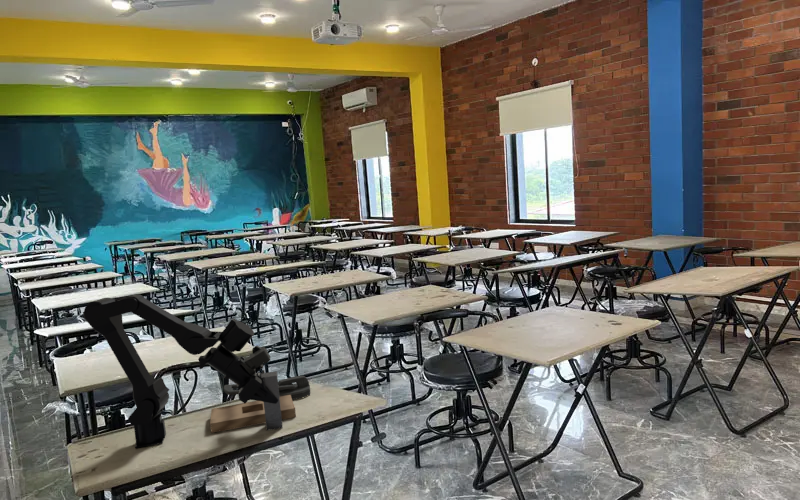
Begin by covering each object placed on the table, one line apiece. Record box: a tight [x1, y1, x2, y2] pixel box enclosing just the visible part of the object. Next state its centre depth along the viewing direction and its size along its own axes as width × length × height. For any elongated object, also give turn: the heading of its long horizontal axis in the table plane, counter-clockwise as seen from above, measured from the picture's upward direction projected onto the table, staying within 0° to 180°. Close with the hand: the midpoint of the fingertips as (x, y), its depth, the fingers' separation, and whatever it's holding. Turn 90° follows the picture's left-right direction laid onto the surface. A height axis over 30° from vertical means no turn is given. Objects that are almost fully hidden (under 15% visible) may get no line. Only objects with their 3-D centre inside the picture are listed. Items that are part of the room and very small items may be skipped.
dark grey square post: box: [261, 370, 283, 431], centre depth 148 cm, size 4×4×14 cm
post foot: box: [209, 395, 297, 434], centre depth 156 cm, size 22×12×2 cm, turn 107°
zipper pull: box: [223, 375, 311, 401], centre depth 169 cm, size 9×7×25 cm
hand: (277, 399), depth 148 cm, fingers closed on dark grey square post, 4 cm apart
